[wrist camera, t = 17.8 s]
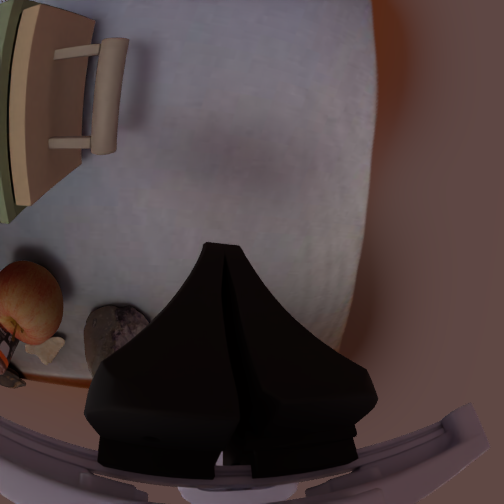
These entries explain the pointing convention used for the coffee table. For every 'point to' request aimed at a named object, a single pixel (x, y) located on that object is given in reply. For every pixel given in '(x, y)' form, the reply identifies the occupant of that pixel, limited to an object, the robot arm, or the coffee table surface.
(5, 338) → the supplement bottle
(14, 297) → the apple
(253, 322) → the robot arm
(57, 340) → the stone tool
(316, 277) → the coffee table surface
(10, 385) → the decorative plaque
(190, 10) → the coffee table surface
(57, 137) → the drawer
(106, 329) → the mineral rock
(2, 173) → the cabinet
